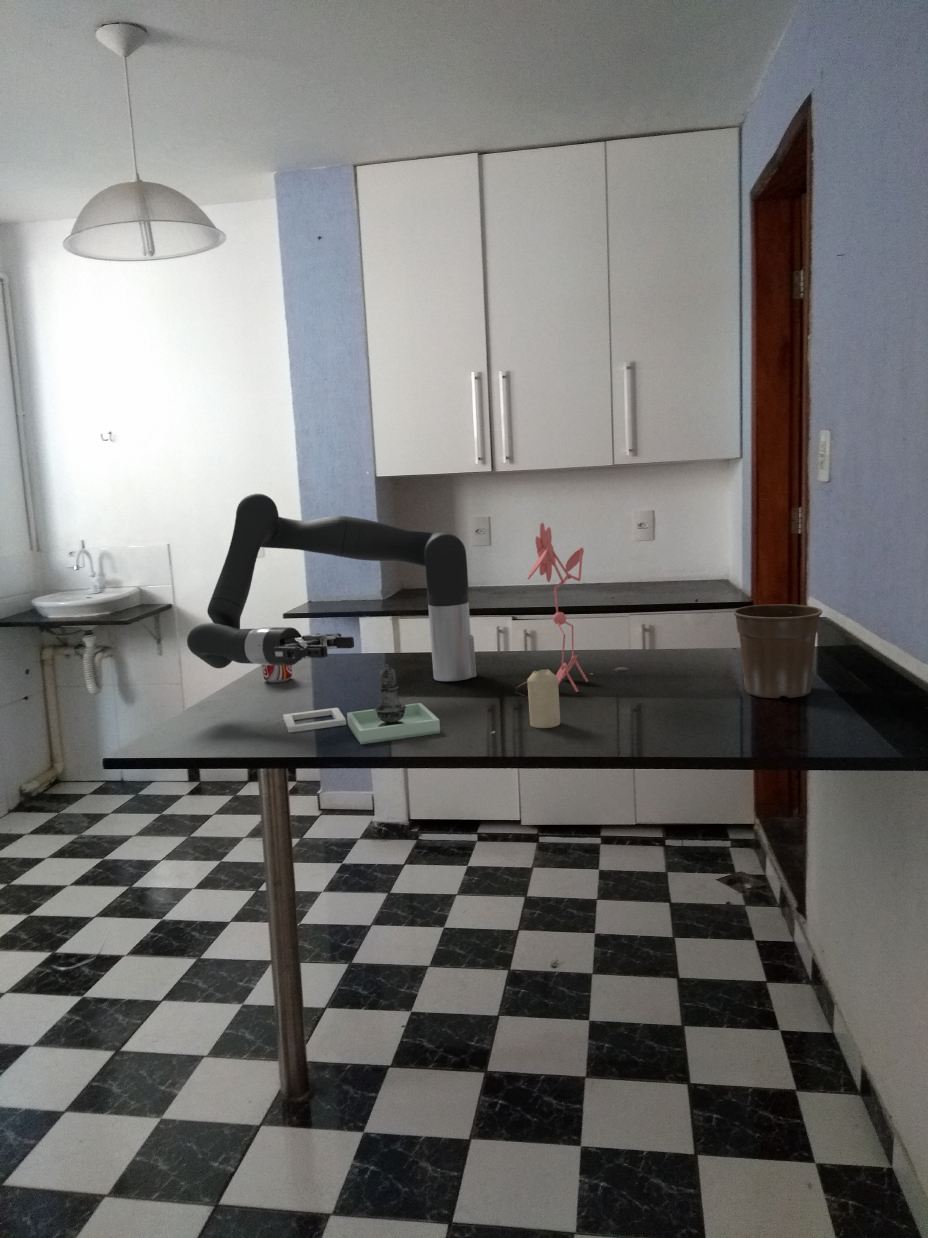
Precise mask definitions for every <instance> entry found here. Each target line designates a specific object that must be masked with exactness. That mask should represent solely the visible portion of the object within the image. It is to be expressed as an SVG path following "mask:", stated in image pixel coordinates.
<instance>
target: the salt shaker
mask: <svg viewBox="0 0 928 1238" xmlns="http://www.w3.org/2000/svg"><path fill="white" fill-rule="evenodd" d="M384 666H385V667H384V668H383V669H382V670H380V673H379V677H380V687H379V690H380V693H381V694H380V695H381V703H380V705H378V706H376V707H375V708H374V709H375V711H376V712H377V716H378V718H379V719H380V720H381V721H384V723H381V724H380V725H379V726H378V727H382V726H390V725H397V724H404V723H403V722H401V721H399V720H401V719H402V717H403V716H404V713H405V708H406V706H405V705H406V704H401V702H400V701H399V697H398V696H399V695H398V689H399V686H398V685H397V679H396V678H397V677H396V671H395V669H393V668H391V667H389V666H390V665H389V664H388V663H386V664H385V665H384Z"/></svg>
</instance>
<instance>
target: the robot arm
mask: <svg viewBox="0 0 928 1238" xmlns="http://www.w3.org/2000/svg"><path fill="white" fill-rule="evenodd" d="M231 535H232V536H231V540H230V544H229V548H228V551H227V554H226V556H225V559H224V563H223V566H222V568H221V572H220V574H219V577H218V579H217V582H216V584H215V587H214V589H213V593H212V594H211V598H210V601H209V603H208V607H207V610H206V611H207V615H208V617H209V619H210V620H211V621H212V622H203V623H200V624H197V625H196V626H194V627H193V628H192V629H191V630H190V631H189V633H188V635H187V638H186V644H187V647H188V649H189V651H190V652H191V653H192V654H193V655H195V656H196V657H197V658H199V659H200V660H201V661H203V662H204V663H206V664H207V665H209V666H210V667H212V668H215V669H223V668H226V667H227V666H229V665H230V664H231V663H232V662H236V663H237V664H254V665H255V664H256V665H261V666H262V665H281V666H291V665H292V666H294V665H296V664H297V663H298V662H300V661H301V660H308V659H311V658H312V659H313V658H314V659H315V658H316V659H318V658H319V659H320V658H321V659H323V658H327V657H328V651H329V650H337V649H353V648H355V640H354V637H353V636H342V633H339V632H338V633H317V634H313V635H311V634H305V635H302V634H301V633H300V632H299V630H297V629H296V628H294V627H290V626H288V627H284V626H283V627H279V626H278V627H271V626H269V627H268V626H267V627H259V628H241V618H242V617H241V616H242V614H243V611H244V609H245V607H246V603H247V600H248V597H249V594H250V589H251V586H252V581H253V576H254V572H255V567H256V566H255V565H256V562H257V559H258V555H259V552H260V549H261V548H265V549H266V548H268V549H284V550H299V551H304V552H311V553H317V554H322V555H329V556H334V557H340V558H347V559H351V560H360V561H369V562H370V561H371V562H372V561H373V562H386V561H387V562H392V561H393V562H404V563H409V564H414V565H417V566H422V567H425V577H426V595H427V596H426V597H427V606H428V621H429V622H428V623H429V633H430V634H429V635H430V646H431V647H430V648H431V657H432V658H431V659H432V660H431V661H432V673H433V679H434V680H435V681H438V682H457V681H458V682H459V681H463V680H465V681H466V680H468V679H471V678H475V677H477V668H476V667H477V666H476V653H475V641H474V640H475V639H474V635H472V634H471V633H472V632H471V620H470V619H471V617H470V604H469V577H468V560H467V550H466V546H465V544H464V543H463V541H462V540H461V539H460V538H459V537H458V536H457V535H455V534H453V533H451V532H445V531H438V532H437V531H423V530H422V531H419V530H410V529H404V528H400V527H396V526H393V525H390V524H387V523H382V522H379V521H374V520H371V519H366V518H360V517H352V516H347V515H332V516H331V515H330V516H326V517H321V518H315V519H310V520H299V519H292V518H286V517H282V516H280V515H279V510H278V507H277V504H276V503H275V501H274V500H273V499H272V498H271V497H269V496H268V495H266V494H263V493H252V494H249V495H247V496H245V497H243V499H241V500H240V502H239V503H238V505H237V508H236V511H235V520H234V527H233V532H232V534H231Z"/></svg>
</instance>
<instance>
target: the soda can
mask: <svg viewBox="0 0 928 1238" xmlns="http://www.w3.org/2000/svg"><path fill="white" fill-rule="evenodd" d="M261 669H262V671H261V672H262V676H263V680H265V681H267V682H268V683H270V684H271V683H272V684H276V683H277V684H278V683H284V682H287V681H289V680H290V679H291V678H292V677H293V665H291V666H281V665H261Z"/></svg>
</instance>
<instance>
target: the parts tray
mask: <svg viewBox="0 0 928 1238" xmlns="http://www.w3.org/2000/svg"><path fill="white" fill-rule="evenodd" d="M404 705H405V706H406V708H405V713H404V716H403V717H402V719H401V720H399V721H401V722H403V723H404V724H397V725H390V726H382V727H378V726H379V725H380V724H381V723H384V721H381V720H380V719H379V718H378V716H377V712H376V711H375V708H374V709H373V708H372V709H364V710H359V711H350V712H346V717H347V718H346V721H347V726H348V728H349V729H350V731H351V732H352V734H353V736H354V737H355V738H356V740H357V741H358V742H359V744H360V745H366V744H374V743H380V742H388V741H394V740H402V739H408V738H415V737H416V738H417V737H422V736H428V735H429V736H430V735H437V734H441V725H440V719H439V718H438V717H437V716H436V715H435V714H434V713H433V712H432V711H430V709H428V708H427V707H426V706H425V705H424V704H423V703H422V702H416V703H411V704H409V703H408V704H404Z"/></svg>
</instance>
